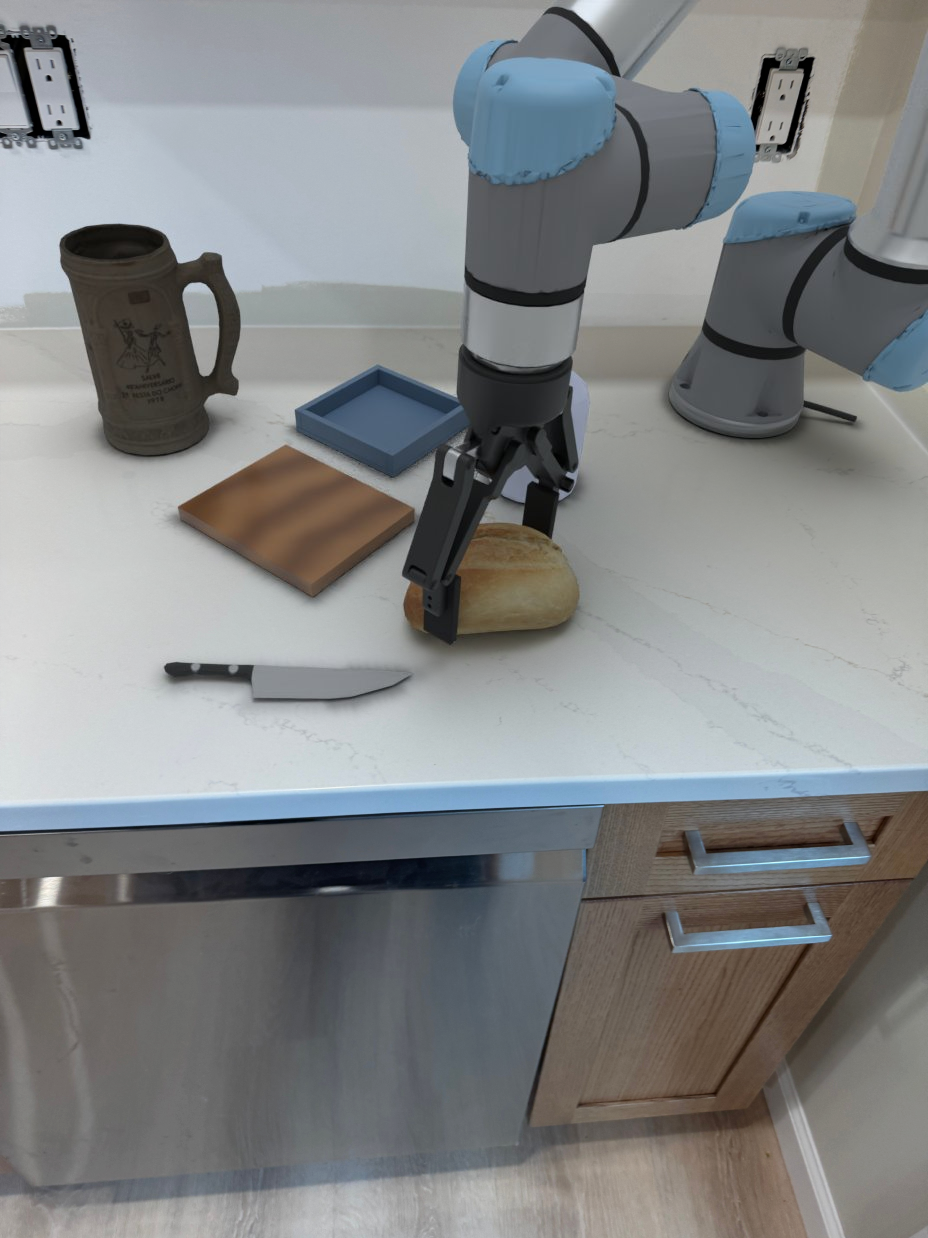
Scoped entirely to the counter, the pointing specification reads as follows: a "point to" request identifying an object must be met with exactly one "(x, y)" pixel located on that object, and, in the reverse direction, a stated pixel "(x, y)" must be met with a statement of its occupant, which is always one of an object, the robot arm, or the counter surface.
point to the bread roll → (507, 583)
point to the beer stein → (147, 334)
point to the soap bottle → (579, 410)
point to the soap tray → (382, 419)
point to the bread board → (297, 518)
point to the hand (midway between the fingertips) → (489, 590)
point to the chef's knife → (295, 679)
